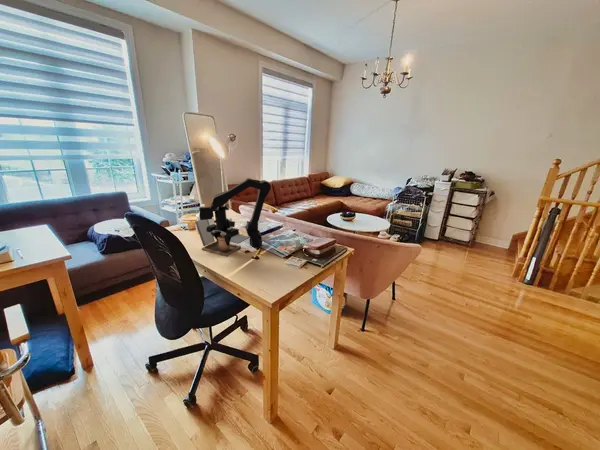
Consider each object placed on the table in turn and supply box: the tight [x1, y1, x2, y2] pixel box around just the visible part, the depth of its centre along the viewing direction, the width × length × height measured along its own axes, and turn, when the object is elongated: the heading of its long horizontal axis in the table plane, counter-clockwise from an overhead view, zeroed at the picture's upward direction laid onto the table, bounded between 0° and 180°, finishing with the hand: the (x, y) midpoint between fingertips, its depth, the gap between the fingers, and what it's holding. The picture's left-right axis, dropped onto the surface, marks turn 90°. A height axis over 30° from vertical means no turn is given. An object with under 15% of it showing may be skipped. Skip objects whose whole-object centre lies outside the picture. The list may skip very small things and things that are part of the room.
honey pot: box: [195, 203, 216, 235], centre depth 165 cm, size 13×13×18 cm
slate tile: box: [230, 233, 250, 244], centre depth 152 cm, size 11×11×1 cm
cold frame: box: [201, 240, 241, 257], centre depth 137 cm, size 24×12×17 cm, turn 63°
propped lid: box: [194, 220, 216, 247], centre depth 140 cm, size 15×8×1 cm
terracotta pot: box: [217, 234, 230, 251], centre depth 136 cm, size 6×6×8 cm
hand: (224, 244), depth 136 cm, fingers closed on terracotta pot, 6 cm apart
